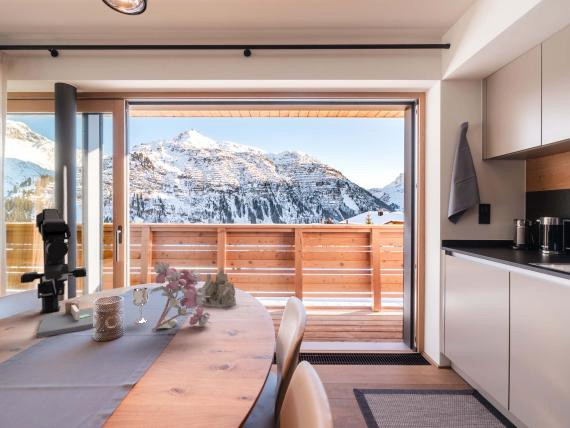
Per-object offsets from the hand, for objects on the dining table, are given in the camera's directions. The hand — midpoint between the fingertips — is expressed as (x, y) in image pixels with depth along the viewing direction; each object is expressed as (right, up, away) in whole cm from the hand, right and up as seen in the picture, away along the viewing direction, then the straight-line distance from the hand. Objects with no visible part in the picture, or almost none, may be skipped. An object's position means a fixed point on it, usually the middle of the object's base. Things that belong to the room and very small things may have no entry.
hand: (55, 298), depth 113 cm
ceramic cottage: (+52, -10, +27) cm, 60 cm away
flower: (+48, -10, -1) cm, 49 cm away
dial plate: (+2, -10, +3) cm, 11 cm away
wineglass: (+29, -10, +4) cm, 31 cm away
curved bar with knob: (+3, -8, +6) cm, 11 cm away
